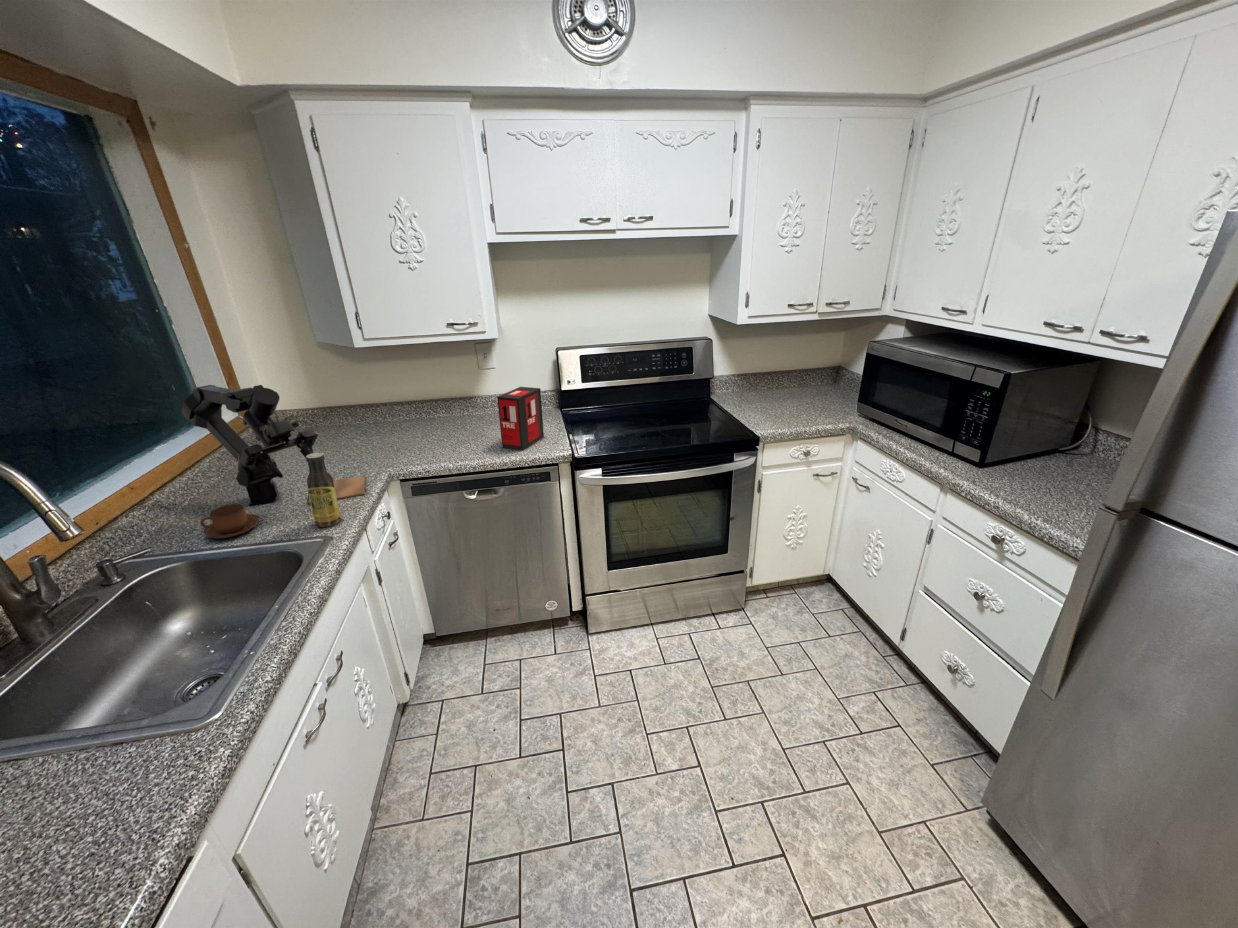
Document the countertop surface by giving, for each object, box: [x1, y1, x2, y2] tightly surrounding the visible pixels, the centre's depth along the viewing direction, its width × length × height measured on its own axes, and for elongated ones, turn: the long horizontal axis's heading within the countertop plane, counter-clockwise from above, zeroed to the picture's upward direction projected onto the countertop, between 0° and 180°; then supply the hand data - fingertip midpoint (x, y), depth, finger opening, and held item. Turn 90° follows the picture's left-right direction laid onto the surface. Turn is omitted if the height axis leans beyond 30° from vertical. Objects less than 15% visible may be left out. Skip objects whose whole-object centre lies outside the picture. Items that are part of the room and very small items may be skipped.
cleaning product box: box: [496, 386, 545, 451], centre depth 194 cm, size 16×9×20 cm, turn 160°
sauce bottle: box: [305, 452, 341, 528], centre depth 134 cm, size 7×6×20 cm
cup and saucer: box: [199, 503, 260, 539], centre depth 133 cm, size 12×12×6 cm
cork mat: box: [307, 475, 366, 505], centre depth 158 cm, size 15×15×1 cm
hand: (299, 470), depth 137 cm, fingers open, 9 cm apart
